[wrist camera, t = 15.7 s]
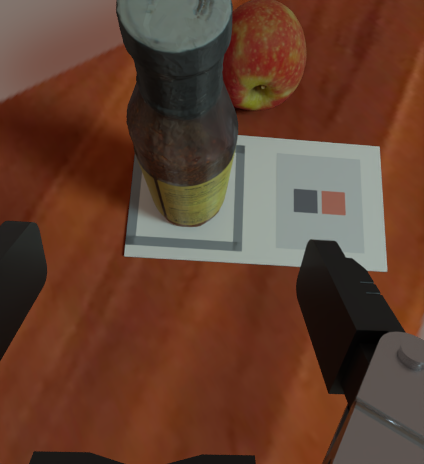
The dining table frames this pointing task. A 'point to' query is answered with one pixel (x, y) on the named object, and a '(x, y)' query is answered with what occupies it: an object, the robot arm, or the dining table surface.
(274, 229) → the mat
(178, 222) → the sauce bottle
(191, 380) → the dining table surface
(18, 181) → the dining table surface
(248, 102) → the apple
